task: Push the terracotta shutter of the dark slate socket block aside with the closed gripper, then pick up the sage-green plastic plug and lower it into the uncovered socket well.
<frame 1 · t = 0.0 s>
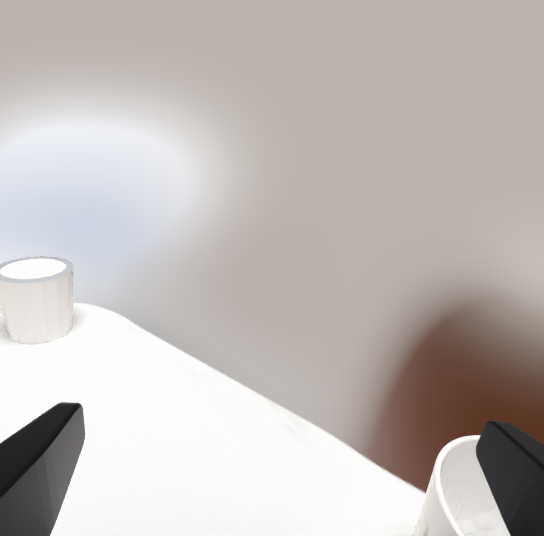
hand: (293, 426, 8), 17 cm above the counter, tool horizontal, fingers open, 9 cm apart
shot glass: (42, 330, 38), on the counter
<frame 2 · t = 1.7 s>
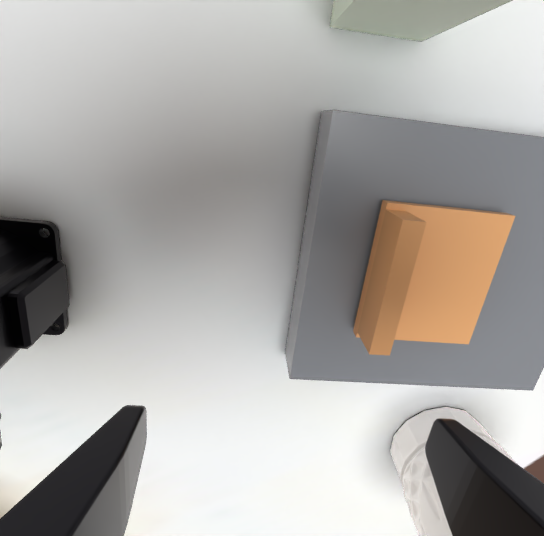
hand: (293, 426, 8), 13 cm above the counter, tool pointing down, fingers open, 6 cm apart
white cup: (433, 439, 27), on the counter
shutter: (438, 285, 17), point 4 cm above the counter, slide at 0.0 cm
socket: (428, 258, 21), on the counter
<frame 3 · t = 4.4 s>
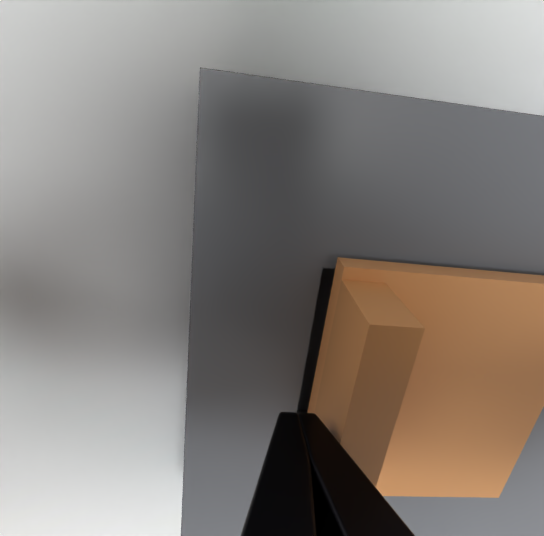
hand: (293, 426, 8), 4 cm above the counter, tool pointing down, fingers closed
shutter: (447, 421, 9), point 4 cm above the counter, slide at 0.4 cm, touching gripper
socket: (416, 333, 13), on the counter
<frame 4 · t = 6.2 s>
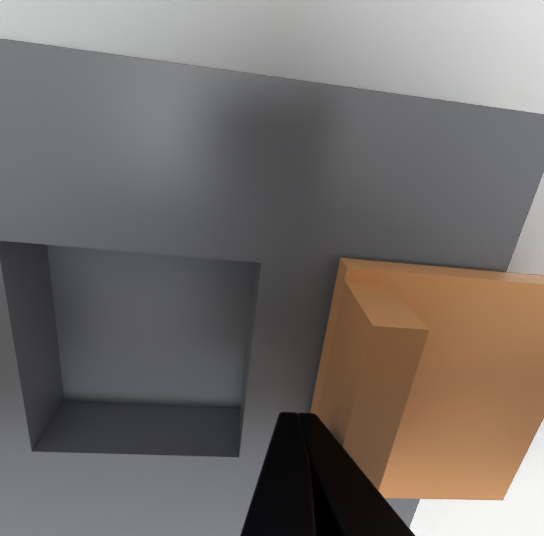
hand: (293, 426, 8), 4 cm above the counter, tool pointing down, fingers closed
shutter: (451, 422, 9), point 4 cm above the counter, slide at 7.8 cm, touching gripper
socket: (205, 320, 12), on the counter
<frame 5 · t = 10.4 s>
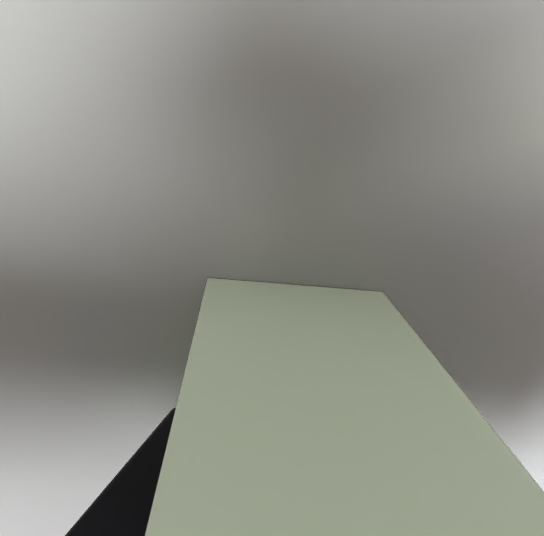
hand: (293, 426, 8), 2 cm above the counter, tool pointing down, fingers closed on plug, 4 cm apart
plug: (284, 368, 10), on the counter, touching gripper
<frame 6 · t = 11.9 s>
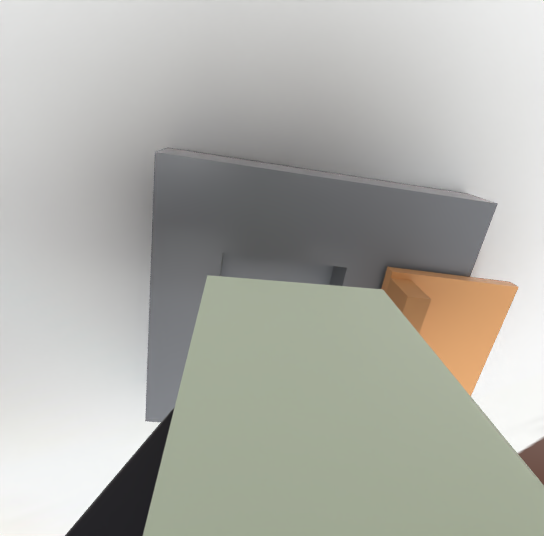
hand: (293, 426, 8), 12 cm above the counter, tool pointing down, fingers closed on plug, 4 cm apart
plug: (284, 366, 10), point 10 cm above the counter, touching gripper
shutter: (439, 352, 17), point 4 cm above the counter, slide at 7.8 cm
socket: (298, 299, 20), on the counter
when the fingers open (4 cm above the counter, at t = 13.9 s): plug drops 2 cm, resting on socket.
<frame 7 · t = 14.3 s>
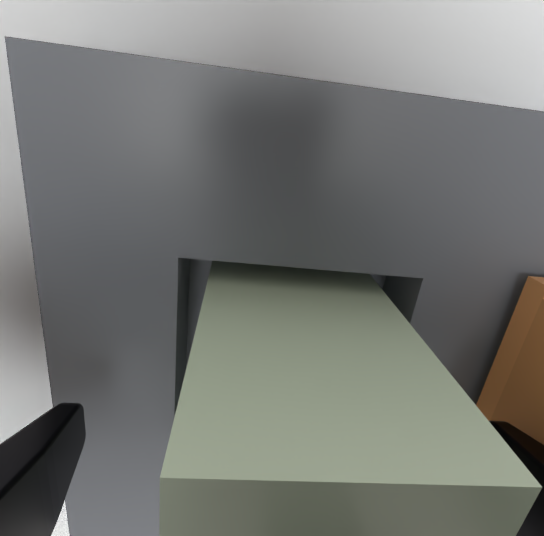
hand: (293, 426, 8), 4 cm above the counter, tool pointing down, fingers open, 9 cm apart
plug: (279, 334, 11), resting on socket
socket: (324, 330, 12), on the counter
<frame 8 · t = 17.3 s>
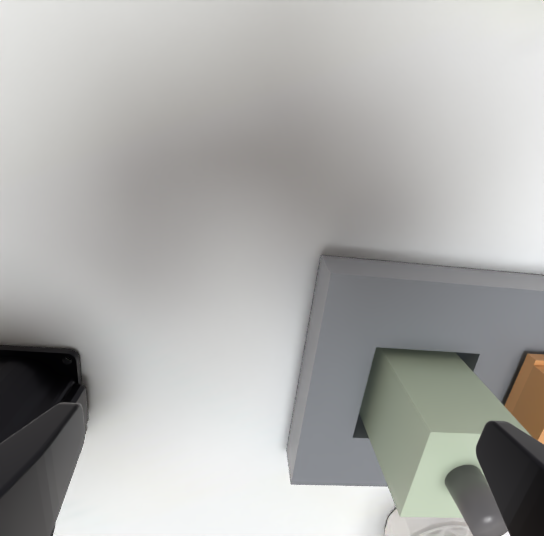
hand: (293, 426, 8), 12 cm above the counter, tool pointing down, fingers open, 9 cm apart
plug: (399, 374, 22), resting on socket
white cup: (425, 518, 29), on the counter
socket: (419, 370, 23), on the counter
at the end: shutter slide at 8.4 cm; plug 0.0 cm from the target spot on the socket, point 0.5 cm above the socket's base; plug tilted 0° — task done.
